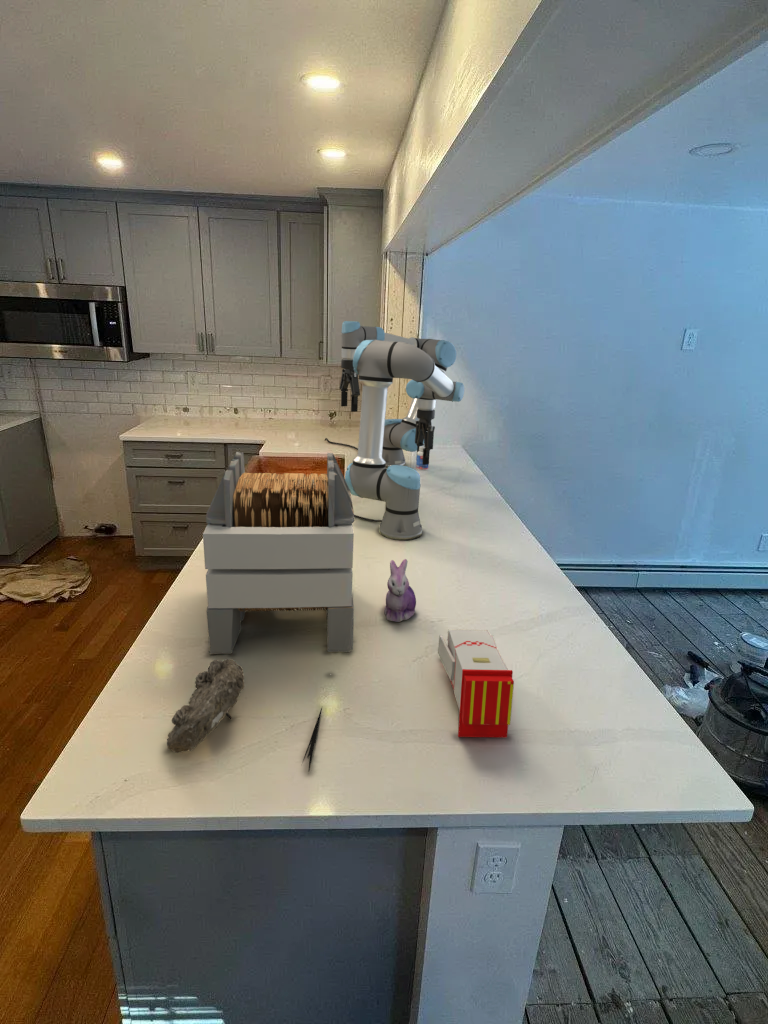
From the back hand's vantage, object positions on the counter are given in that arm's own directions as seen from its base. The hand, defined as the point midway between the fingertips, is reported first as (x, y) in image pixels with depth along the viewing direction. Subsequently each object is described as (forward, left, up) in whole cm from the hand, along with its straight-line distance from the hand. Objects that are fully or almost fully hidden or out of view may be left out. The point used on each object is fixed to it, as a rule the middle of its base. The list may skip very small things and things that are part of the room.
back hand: (349, 408), depth 250 cm
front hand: (+26, +23, -20) cm, 40 cm away
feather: (+144, -72, -32) cm, 165 cm away
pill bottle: (+26, +23, -23) cm, 42 cm away
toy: (+150, -41, -32) cm, 159 cm away
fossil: (+135, -90, -32) cm, 166 cm away
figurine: (+116, -38, -32) cm, 127 cm away
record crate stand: (+106, -66, -32) cm, 128 cm away
